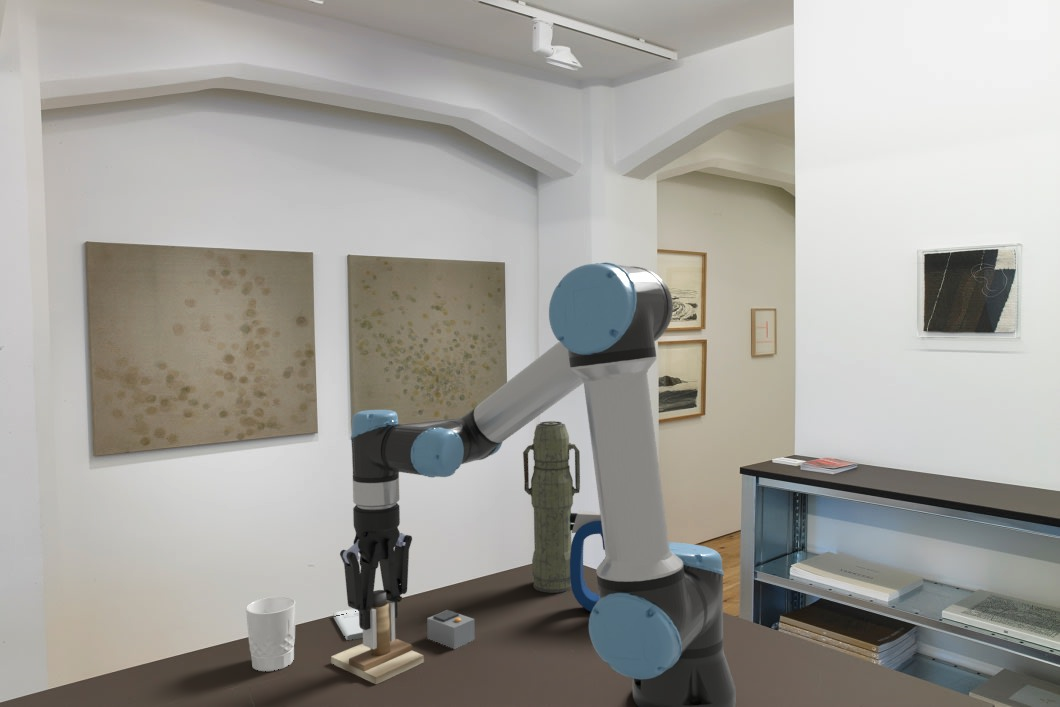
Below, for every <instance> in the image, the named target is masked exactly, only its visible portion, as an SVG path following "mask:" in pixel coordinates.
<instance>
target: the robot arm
mask: <svg viewBox="0 0 1060 707" xmlns="http://www.w3.org/2000/svg"><path fill="white" fill-rule="evenodd" d="M673 310H674V302H673V298H672V293H671V290H670V289H669V287H668V285H667V284H666V282H665V281H664V279H662V278H661V277H660V276H659V275H658V274H656V273H655V272H654V271H651V270H649V269H647V268H643V267H639V266H628V265H627V266H626V265H620V264H615V263H612V262H600V263H598V262H597V263H588V264H584V265H580V266H578V267H576V268H574V269H572V270H570V271H569V272H568V273H566V274H565V275H564V276H563V277H562V278H561V280H560V281H559V283H557V285H556V287H555V288H554V291H553V292H552V294H551V298H550V301H549V307H548V320H549V324H550V329H551V331H552V333H553V335H554V337H555V339H556V340H557V343H556V344H554V345H553V346H552V347H550V348H549V349H548V350H547V351H545V352H544V353H543V354H541V355H540V356H539V357H538V358H536V359H534V360H533V361H532V362H531V363H530V364H529V365H527V366H526V367H525V368H524V369H522V370H520V372H518V373H517V374H516V375H514V376H513V377H512V378H511V379H510V380H508V381H507V382H505V383H504V384H503V385H501V386H500V387H499V388H498V389H497V390H495V391H494V392H493V393H491V394H490V395H488V397H486V398H485V399H484V400H482V401H481V402H480V403H479V404H477V405H476V407H474V408H473V409H471V410H470V411H469V412H467V413H466V414H465V415H463V416H462V417H460V418H457V419H453V420H449V421H444V422H439V423H435V424H430V425H424V426H418V425H417V426H415V425H414V426H413V425H403V424H400V421H399V418H398V417H399V416H398V413H397V411H395V410H391V409H368V410H361V411H357V412H356V413H354V415H353V416H352V419H351V420H352V421H351V432H350V433H351V436H350V440H351V456H352V458H351V459H352V460H351V461H352V462H351V464H352V499H353V500H352V501H353V504H355V506H354V507H353V508H352V510H353V511H352V514H353V519H352V522H353V529H354V531H355V537H354V539H353V545H351V546H350V547H349V548H348V549H347V550H346V549H342V550H341V551H340V553H339V556H340V558H341V560H342V563H343V568H344V577H345V578H344V579H345V588H346V597H347V605H348V608H350V609H356V610H359V626H360V628H361V629H363V638H362V644H363V645H364V646H366V647H368V648H371V649H376V648H377V629H376V609H374V608H372V602H373V593H374V591H375V582H376V571H377V569H378V568H380V575H381V581H382V586H383V589H382V590H384V591H386V602H388V603H389V623H390V641H391V642H393V641H395V639H396V619H398V613H399V612H398V603H400V602H401V601H402V599H403V597H402V595H405V594H407V592H408V581H409V559H410V558H409V556H410V548H411V544H412V542H413V536H412V535H409V534H405V533H402V532H401V533H400V530H399V528H398V527H399V526H400V523H401V519H400V515H401V514H400V509H401V508H400V504H399V503H398V502H399V501H400V474H399V473H405V474H411V475H417V476H423V477H428V478H447V477H451V476H453V475H454V474H455V473H456V471H457V470H458V469H459V468H460V467H461V466H462V465H464V464H468V463H472V462H474V461H481V460H485V459H487V458H488V457H490V456H493V455H494V454H496V453H497V452H498V451H500V449H501V448H502V444H503V442H504V441H506V440H507V439H508V438H510V437H511V436H513V435H514V434H516V433H517V432H518V431H519V430H521V429H523V427H525V426H526V425H528V424H529V423H530V422H532V421H533V420H535V419H536V418H537V417H539V416H540V415H541V414H543V413H545V412H546V411H547V410H549V409H550V408H552V407H553V406H554V405H556V404H557V403H558V402H559V401H560V400H562V399H563V398H565V397H566V396H568V395H569V394H570V393H572V392H573V391H575V390H576V389H577V388H579V387H580V386H582V385H583V388H584V394H585V395H584V396H585V404H586V411H587V419H588V420H587V421H588V428H589V436H590V442H591V443H590V444H591V451H592V459H593V467H594V474H595V482H596V490H597V498H598V506H599V512H600V515H601V523H602V531H603V539H604V547H605V550H604V552H605V556H604V559H603V560H602V561H601V562H600V564H599V565H598V566H597V568H596V579H597V587H598V595H599V597H600V599H599V600H598V601H597V603H596V605H595V606H594V608H593V610H592V612H590V614H589V617H588V618H589V619H588V634H589V638H590V641H591V643H592V646H593V648H594V650H595V652H596V653H597V654H598V656H599V657H600V659H601V660H602V661H603V662H606V663H607V664H608V665H609V666H610V668H611V669H612V671H615V672H616V673H617V674H619V675H622V676H624V677H627V678H630V679H632V699H633V702H634V703H635V704H636V706H637V707H736V704H737V701H736V695H737V693H736V684H735V682H734V679H733V676H732V674H731V669H730V667H729V664H728V661H727V657H726V655H725V653H724V611H723V610H724V579H723V578H724V576H725V572H724V570H723V558H722V555H721V554H720V553H719V552H718V551H717V550H715V549H713V548H711V547H708V546H704V545H699V544H693V543H687V542H686V543H683V542H670V541H669V534H668V526H667V519H666V518H667V517H666V511H665V504H664V496H663V489H662V488H663V487H662V480H661V473H660V465H659V456H658V449H657V442H656V434H655V433H656V432H655V427H654V426H655V424H654V418H653V410H652V402H651V395H650V388H649V386H650V385H649V379H648V371H649V369H650V368H651V367H652V366H653V364H654V363H655V361H657V352H656V350H657V349H656V344H655V342H656V341H658V340H659V339H660V338H661V337H662V336H663V335H664V334H665V332H666V331H667V329H668V328H669V325H670V324H671V320H672V317H673V312H674V311H673ZM359 554H360V556H359Z"/></svg>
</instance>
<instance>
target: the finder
mask: <svg viewBox="0 0 1060 707" xmlns="http://www.w3.org/2000/svg"><path fill="white" fill-rule="evenodd" d="M426 622H427V623H426V625H427V628H426V629H427V630H426V631H427V640H429V639H430V641H431V640H433V641H432V642H434V641H435V642H434V643H436V642H438V643H437V644H439V643H440V645H442V644H443V645H442V646H444V645H446V646H445V647H447V646H448V647H447V648H449V647H450V648H449V649H452V648H453V650H457V649H458V647H459V648H461V647H463V646H465V645H468V644H469V643H468V642H470V643H472V642H474V641H475V640H476V635H475V634H476V633H475V631H476V629H475V628H476V627H475V623H476V622H475V618H472V617H470V616H467V615H463V614H460V613H458V612H455V611H452V610H449V609H446V610H443V611H442V612H439V613H437V614H434V615H432V616H429V617H426ZM474 639H475V640H474ZM473 640H474V641H473ZM471 641H472V642H471ZM467 643H468V644H467ZM462 645H463V646H462ZM460 646H461V647H460ZM456 648H457V649H456Z"/></svg>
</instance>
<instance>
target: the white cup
mask: <svg viewBox="0 0 1060 707" xmlns="http://www.w3.org/2000/svg"><path fill="white" fill-rule="evenodd" d="M245 612H246V623H247V624H246V625H247V635H248V645H249V652H250V655H251V665H252V669H254V670H256V671H257V670H258V672H265V671H266V672H275V671H279V670H283V669H285V668H286V667H289V666H291V664H292V663H293V662H294V661H295V646H294V645H295V643H296V642H295V641H296V640H295V639H296V600H295V599H294V598H292V597H288V596H269V597H264V598H260V599H257V600H254V601H253V602H250V603H249V604H247V606H246V608H245ZM293 660H294V661H293ZM288 665H289V666H288ZM278 669H279V670H278ZM274 670H275V671H274Z"/></svg>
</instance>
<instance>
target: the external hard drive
mask: <svg viewBox="0 0 1060 707" xmlns="http://www.w3.org/2000/svg"><path fill="white" fill-rule="evenodd" d="M355 611H356V612H355ZM346 613H347V614H346ZM341 614H344V615H341ZM336 615H340V616H336ZM333 616H336V617H333ZM333 616H332V617H333V620H334V621H335V623H336V624H337V626H338V629H340V631H341V633H342V635H343V637H344V636H345V637H344V638H345V640H346V641H347V640H349V641H354V640H359V639H363V629H361V628H360V626H359V611H358V610H356V609H354V608H350V609H346V610H339V611H335V612H334V613H333ZM352 639H353V640H352Z"/></svg>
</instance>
